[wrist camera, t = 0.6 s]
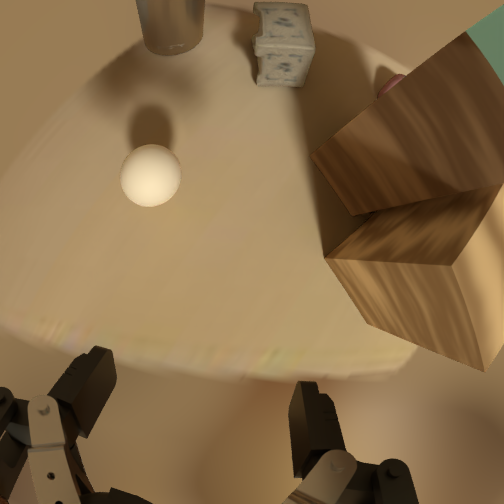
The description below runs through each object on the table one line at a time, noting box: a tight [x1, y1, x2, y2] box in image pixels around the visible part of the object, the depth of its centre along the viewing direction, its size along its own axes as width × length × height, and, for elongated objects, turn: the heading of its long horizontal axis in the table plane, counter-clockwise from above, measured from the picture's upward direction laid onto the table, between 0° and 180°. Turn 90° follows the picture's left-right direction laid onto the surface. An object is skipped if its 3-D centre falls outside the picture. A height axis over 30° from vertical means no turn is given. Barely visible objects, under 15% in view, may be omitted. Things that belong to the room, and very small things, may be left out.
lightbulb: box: [120, 144, 181, 207], centre depth 28 cm, size 6×6×11 cm
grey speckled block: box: [251, 2, 315, 87], centre depth 31 cm, size 10×8×10 cm
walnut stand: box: [309, 31, 504, 216], centre depth 22 cm, size 12×10×32 cm
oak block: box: [324, 183, 504, 372], centre depth 28 cm, size 14×12×22 cm
